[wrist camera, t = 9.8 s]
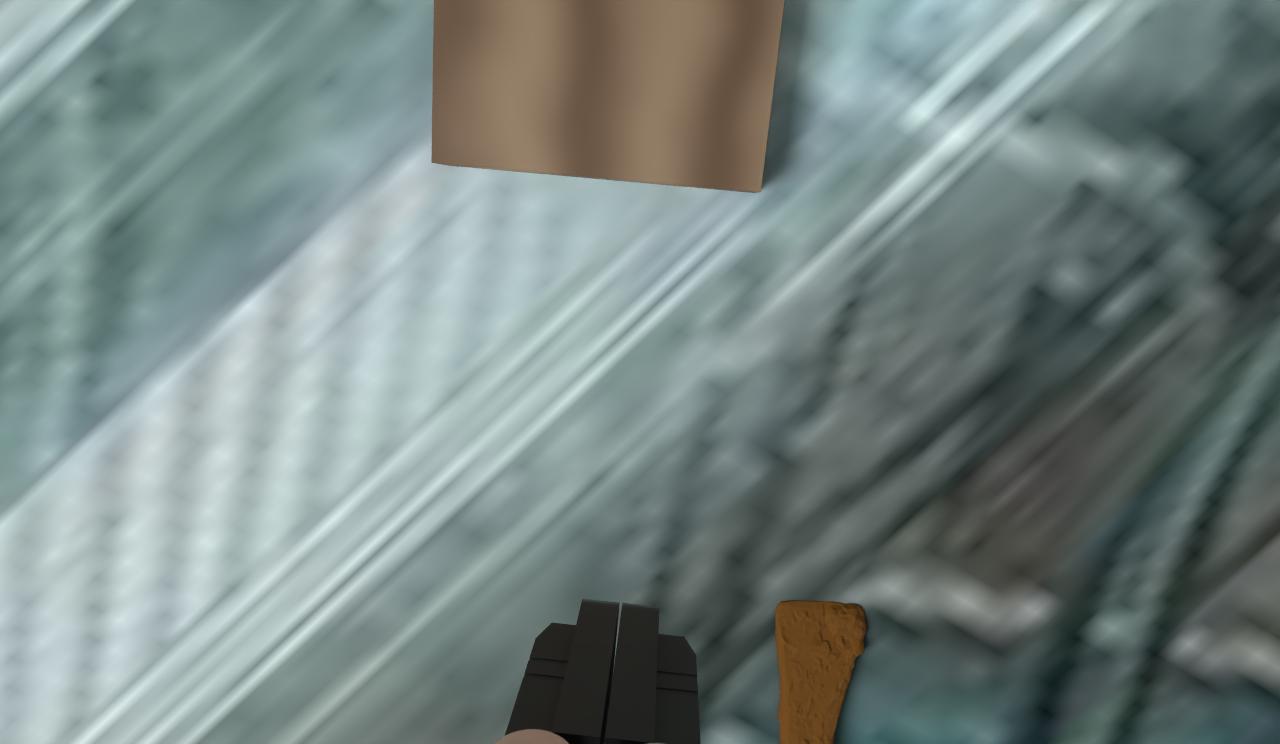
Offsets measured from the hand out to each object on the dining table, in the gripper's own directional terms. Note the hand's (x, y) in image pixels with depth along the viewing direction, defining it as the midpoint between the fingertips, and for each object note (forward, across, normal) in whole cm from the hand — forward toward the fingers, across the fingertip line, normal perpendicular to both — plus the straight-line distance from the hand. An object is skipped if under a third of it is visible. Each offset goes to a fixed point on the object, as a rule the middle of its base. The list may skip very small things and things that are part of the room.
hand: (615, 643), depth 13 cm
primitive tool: (+27, -11, +23) cm, 37 cm away
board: (+26, +4, -15) cm, 30 cm away
